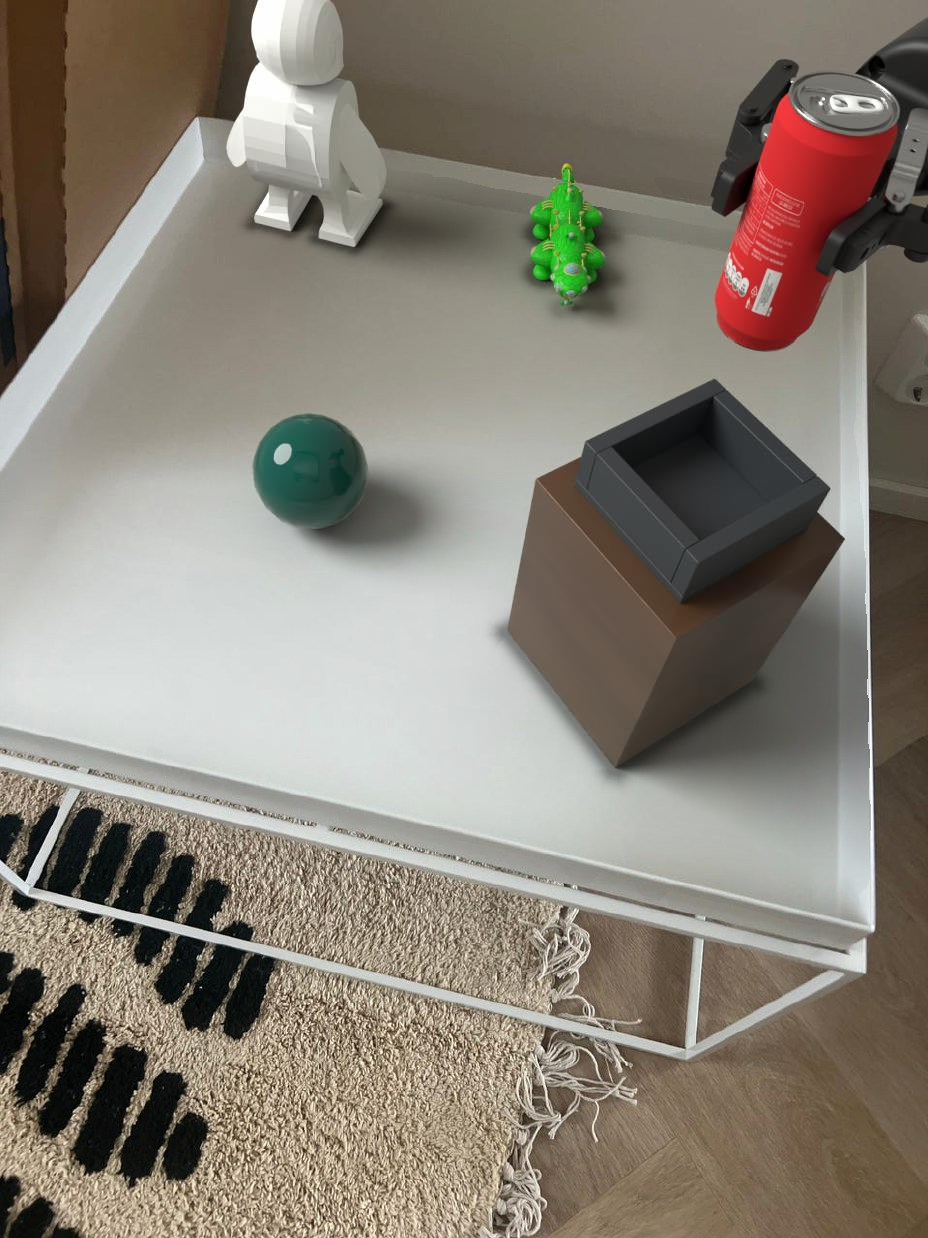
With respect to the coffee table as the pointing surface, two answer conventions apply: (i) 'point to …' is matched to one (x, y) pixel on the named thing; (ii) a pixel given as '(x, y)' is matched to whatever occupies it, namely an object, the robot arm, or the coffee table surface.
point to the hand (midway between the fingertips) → (774, 225)
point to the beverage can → (802, 204)
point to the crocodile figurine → (566, 239)
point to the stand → (645, 620)
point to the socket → (698, 488)
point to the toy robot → (306, 124)
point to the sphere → (310, 471)
